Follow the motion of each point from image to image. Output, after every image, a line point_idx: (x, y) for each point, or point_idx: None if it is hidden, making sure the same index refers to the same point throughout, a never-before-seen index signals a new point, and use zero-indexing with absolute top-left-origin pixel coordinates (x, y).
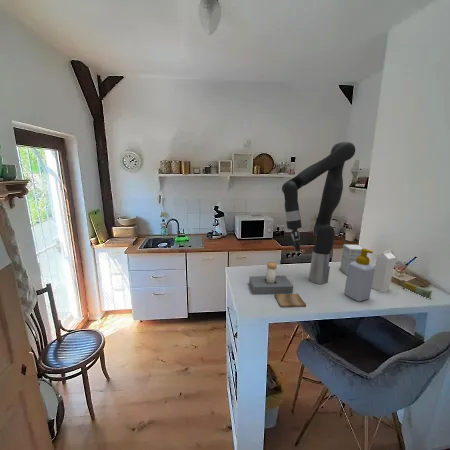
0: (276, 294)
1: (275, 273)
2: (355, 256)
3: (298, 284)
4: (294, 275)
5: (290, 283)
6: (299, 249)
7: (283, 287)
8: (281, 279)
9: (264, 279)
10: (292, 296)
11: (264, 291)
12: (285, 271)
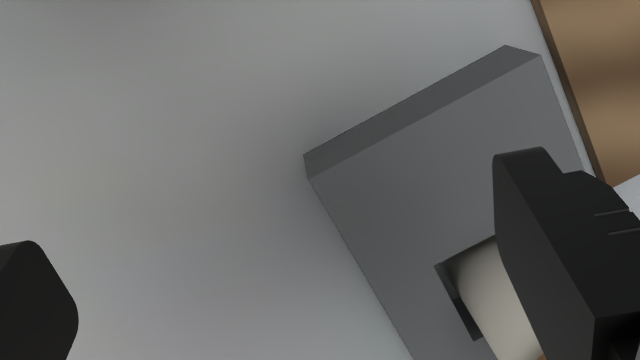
0: (607, 173)
1: None
2: None
3: (276, 13)
4: (61, 88)
5: (479, 93)
6: (555, 178)
7: (569, 144)
8: (419, 198)
9: (483, 336)
10: (605, 34)
11: None
12: (14, 198)
